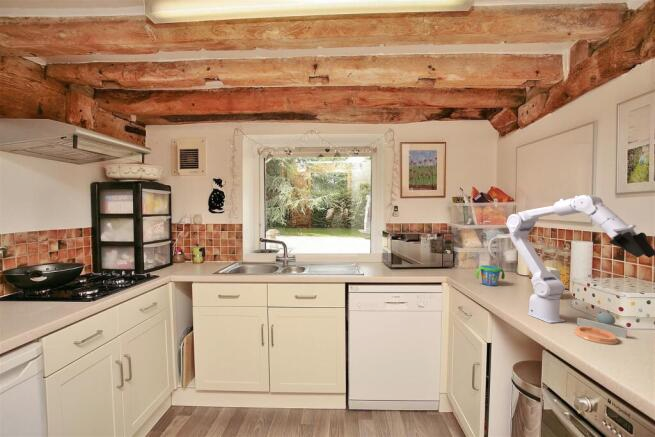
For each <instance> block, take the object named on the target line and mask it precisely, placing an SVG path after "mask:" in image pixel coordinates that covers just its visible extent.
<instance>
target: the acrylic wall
mask: <svg viewBox="0 0 655 437" xmlns="http://www.w3.org/2000/svg"><path fill="white" fill-rule="evenodd" d="M578 326H587V327H594V328H598V329H602V330H605V331H608V332H611V333H612V334H614V335H616V337H619V338H620V337H621V338H623V339H627V336H628V328H624V327H620V326H616V325H608V324H603V323H599V322H598V321H594V320H590V319H587V318H581V317H577V318H576V327H578Z"/></svg>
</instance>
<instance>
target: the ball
mask: <svg viewBox="0 0 655 437" xmlns="http://www.w3.org/2000/svg"><path fill="white" fill-rule="evenodd" d="M596 320H597V322H599V323H603V324H608V325H612V326H615V324H616V318H615V316H614V315H613V314H611V313H610V312H606V311H603V312H599V313H598V314H597V316H596Z"/></svg>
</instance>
